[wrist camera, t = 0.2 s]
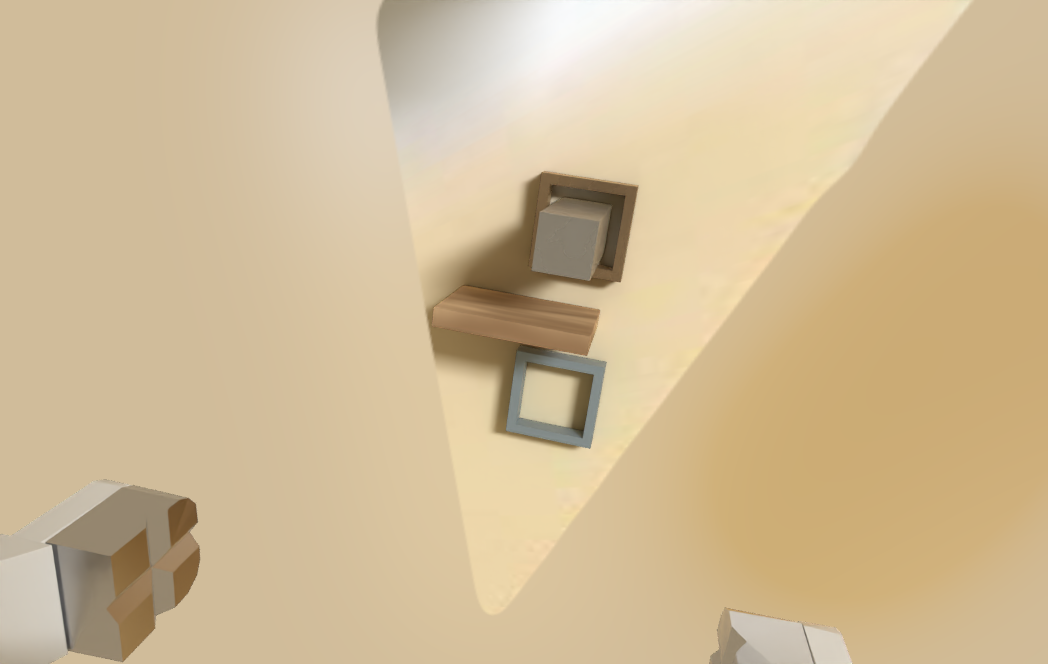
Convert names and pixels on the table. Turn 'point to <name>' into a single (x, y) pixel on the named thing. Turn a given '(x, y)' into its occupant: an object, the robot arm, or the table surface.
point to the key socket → (601, 186)
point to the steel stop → (571, 238)
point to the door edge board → (518, 319)
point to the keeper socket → (550, 430)
